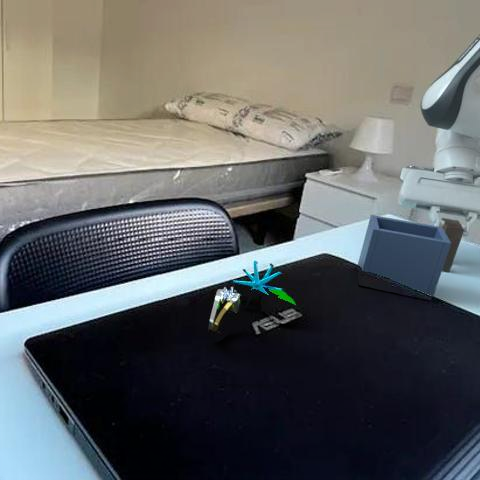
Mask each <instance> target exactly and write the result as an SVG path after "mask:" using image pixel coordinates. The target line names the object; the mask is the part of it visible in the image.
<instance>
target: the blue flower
mask: <svg viewBox="0 0 480 480" xmlns="http://www.w3.org/2000/svg"><path fill="white" fill-rule="evenodd" d="M258 263H259V262H258V261H257V260H253V275H252V274H251V273H250V272H249V271H248V270H247V269H245V268H243V269H242V271H243V273H245V275H246V276H247V278H249V279H250V281H245V280H233V283H234V282H235V283H239V284H238V285H241V284H242V285H241V286H246V285H247V286H248V287H252V289H256V290H259V291H261V292H263V293H265V294H267V295H269V294H268V293H267V292H266V291H265V289H264V288H263V287H265V288H268V289H269V291H270V292H272V293H274V294H276V295H279V296H278V298H280V299H283V300H285V301H288V302H290V303H292V304H294V305H296V306H297V303H296V301H295V300H294V299H293V298H292V297H291V296H289V295H288V293H286V292H287V290H286V289H285V288H280V287H274V286H269V285H266V284H267V283H268V282H270V281H272V280H274V279H275V278H277V277H279V276H280V277H282V276H283V273H282V272H281V271H278V272H276V273H274V274H272V271H273V270H274V267H275V265H274V264H273V263H269V268H268V270H266V272H265V274H264V276H263V278H262V279H260V276H259V269H258ZM271 274H272V275H271ZM235 283H234V284H235ZM265 285H266V286H265Z"/></svg>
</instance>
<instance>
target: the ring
mask: <svg viewBox="0 0 480 480" xmlns="http://www.w3.org/2000/svg"><path fill="white" fill-rule="evenodd" d="M240 296H241V293H238V291H237V290H236V289H234V286H231V287H230V289H227V287H226V286H224V287H223V288H222V289H221V288H219V289H217V291H216V294H215V297H214V301H213V306H212V309H211V313H210V318H209V323H208V330H209V329H211V330H212V331H217V330H219V327H220V325H221V323H222V321H223V319H224V317H225V316H226V314H227V312H228V310H229V312H230V311H232V312H233V311H234V312H235V313H237V312H239V313H240V308H241V300H240ZM225 302H226V304H225V305H224V306H223V308H222V309H221V310H220V312H219V309H220V304H224V303H225ZM218 312H219V313H218ZM217 332H218V331H217Z"/></svg>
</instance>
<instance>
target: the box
mask: <svg viewBox="0 0 480 480" xmlns="http://www.w3.org/2000/svg"><path fill="white" fill-rule="evenodd" d="M450 245H451V242H450V240H449V238H448V237H447V235H446V233H445V231H444V229H443V227H438V226H437V227H436V226H434V225H433V224H432V225H431V224H427V223H421V222H415V221H410V220H409V221H408V220H403V219H397V218H391V217H386V216H381V215H375V214H370V217H369V221H368V224H367V228H366V231H365V236H364V239H363V243H362V247H361V250H360V254H359V257H358V262H357V265H359V266H360V267H361V268H362V271H365V272H371V273H374V274H377V275H380V276H383V277H386V278H389V279H391V280H394V281H396V282H399V283H401V284H404V285H407V286H409V287H411V288H414V289H416V290H419V291H421V292H424V293H426V294H429V295H431V296H433V297H434V295H435V292H436V289H437V287H438V284H439V280H440V278H441V274H442V272H443V271H442V269H443V266H444V263H445V260H446V257H447V254H448V251H449V248H450Z"/></svg>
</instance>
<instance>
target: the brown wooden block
mask: <svg viewBox="0 0 480 480" xmlns="http://www.w3.org/2000/svg"><path fill="white" fill-rule="evenodd" d="M440 220H443V221H445V224H444V231H445V233H446V235H447V237H448V238H449V240H450V242H451V245H450V248H449V251H448V254H447V257H446V260H445V263H444V266H443V269H442V272H445V273H450V272H451V269H452V267H453V263H454V261H455V257H456V255H457V252H458V249H459V246H460V243H461V241H462V238H463V236H462V235H463V232H464V228H463V227H462V225H461V224H462V223H461V222H460V220H457V219H451V218H445V217H441V218H440Z"/></svg>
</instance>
